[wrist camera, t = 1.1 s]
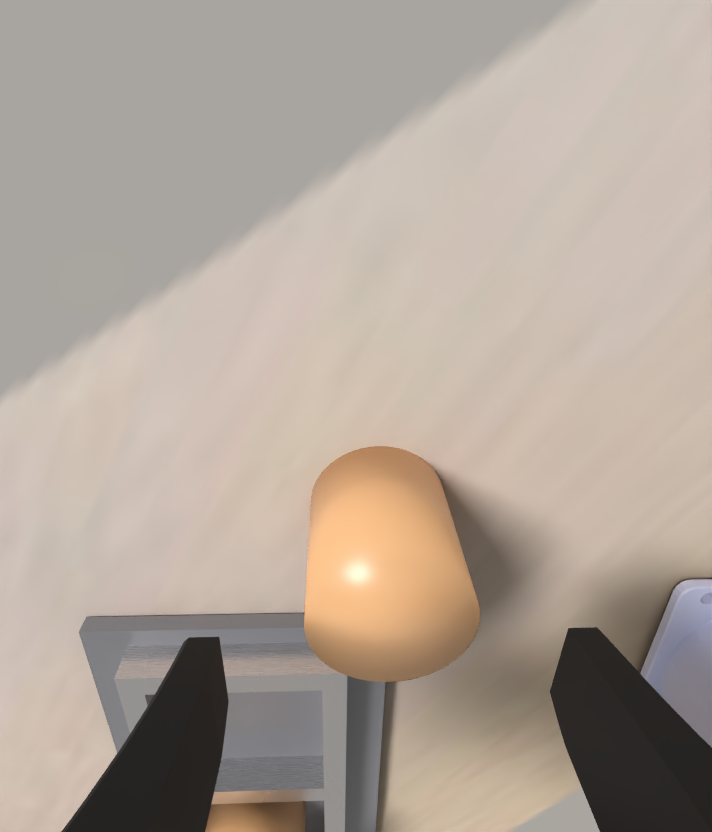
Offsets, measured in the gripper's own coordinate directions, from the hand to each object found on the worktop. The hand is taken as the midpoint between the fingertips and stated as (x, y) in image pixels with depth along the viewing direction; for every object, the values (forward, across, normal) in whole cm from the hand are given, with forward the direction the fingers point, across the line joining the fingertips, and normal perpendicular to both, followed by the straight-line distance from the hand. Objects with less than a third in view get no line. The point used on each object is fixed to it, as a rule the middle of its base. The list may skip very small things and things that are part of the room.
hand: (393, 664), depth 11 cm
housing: (+6, +4, +12) cm, 14 cm away
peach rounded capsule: (+6, 0, 0) cm, 6 cm away
